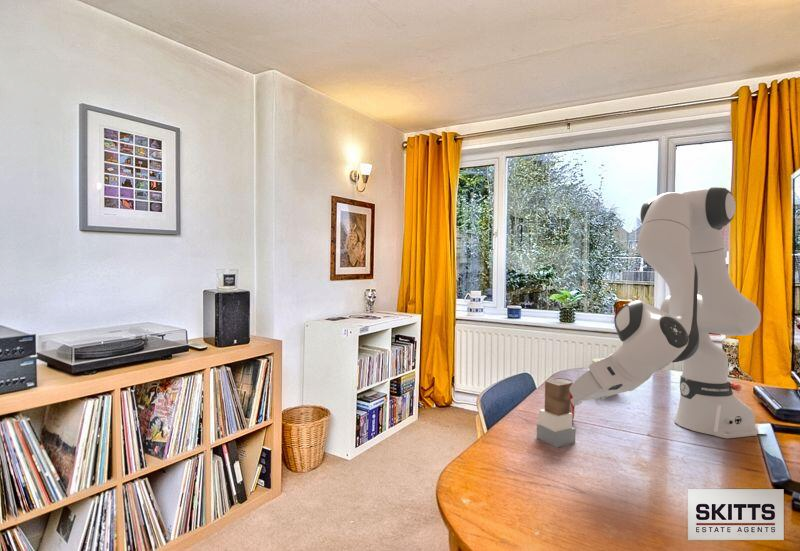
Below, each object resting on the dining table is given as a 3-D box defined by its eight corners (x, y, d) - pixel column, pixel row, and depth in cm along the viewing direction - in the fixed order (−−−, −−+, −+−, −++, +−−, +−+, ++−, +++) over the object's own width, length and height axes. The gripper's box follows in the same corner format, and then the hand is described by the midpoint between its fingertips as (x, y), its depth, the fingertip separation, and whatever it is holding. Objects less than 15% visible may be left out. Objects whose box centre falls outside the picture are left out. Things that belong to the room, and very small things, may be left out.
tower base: (554, 433, 125) (555, 419, 124) (575, 443, 118) (575, 428, 118) (536, 438, 121) (537, 424, 121) (556, 448, 115) (557, 433, 115)
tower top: (554, 420, 124) (555, 406, 123) (571, 428, 118) (572, 413, 118) (538, 424, 121) (539, 409, 121) (555, 432, 116) (555, 416, 115)
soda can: (576, 424, 131) (577, 384, 131) (551, 422, 133) (552, 382, 132) (571, 416, 138) (573, 378, 138) (548, 414, 140) (549, 376, 139)
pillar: (556, 407, 122) (556, 379, 122) (569, 413, 119) (570, 383, 118) (544, 410, 120) (545, 381, 120) (557, 415, 116) (558, 385, 116)
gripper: (642, 355, 109) (605, 384, 118) (587, 363, 99) (551, 394, 108) (659, 377, 106) (620, 405, 115) (604, 388, 96) (565, 418, 105)
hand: (586, 400), depth 111 cm, fingers open, 8 cm apart
